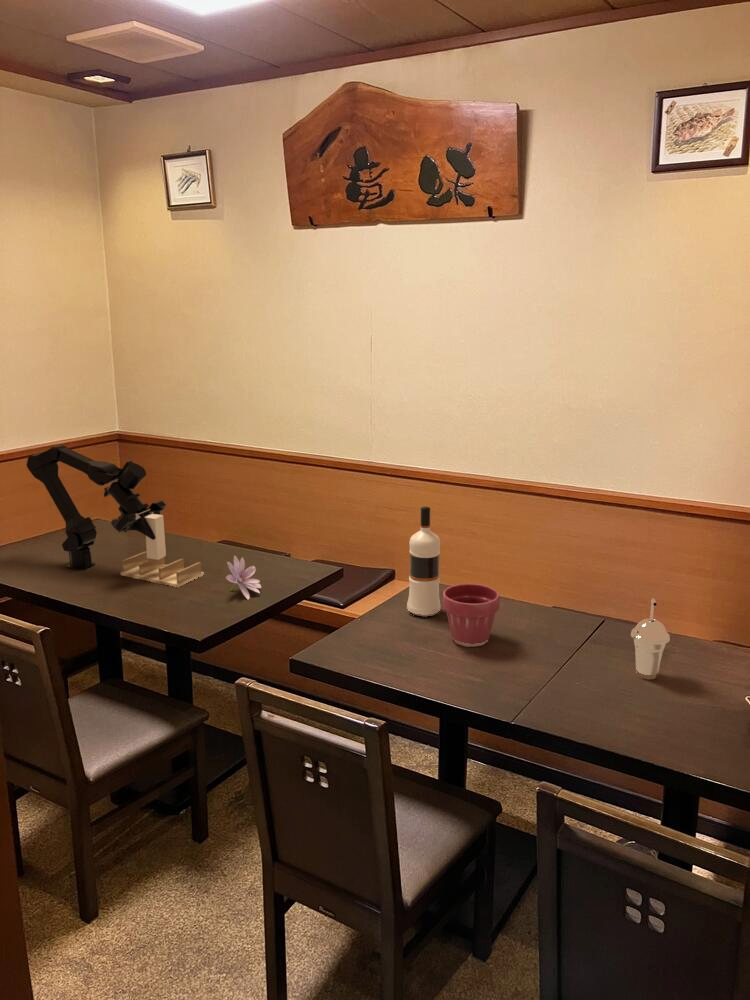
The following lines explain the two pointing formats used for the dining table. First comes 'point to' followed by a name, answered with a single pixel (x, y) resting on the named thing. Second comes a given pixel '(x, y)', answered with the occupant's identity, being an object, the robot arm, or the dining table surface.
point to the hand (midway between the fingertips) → (158, 536)
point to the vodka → (424, 569)
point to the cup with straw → (649, 643)
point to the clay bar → (157, 545)
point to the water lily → (243, 577)
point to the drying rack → (160, 570)
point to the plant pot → (470, 611)
